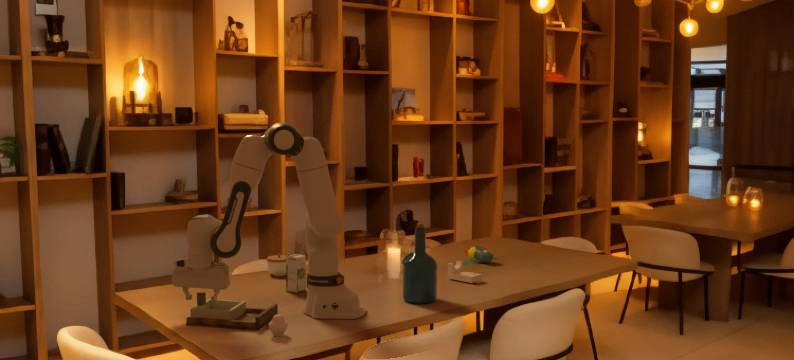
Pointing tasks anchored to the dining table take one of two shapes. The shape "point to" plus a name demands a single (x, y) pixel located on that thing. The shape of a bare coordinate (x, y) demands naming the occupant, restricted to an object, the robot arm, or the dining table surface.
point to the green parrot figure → (478, 255)
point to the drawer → (217, 308)
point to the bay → (239, 319)
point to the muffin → (278, 325)
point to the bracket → (462, 274)
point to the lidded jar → (277, 265)
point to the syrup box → (295, 273)
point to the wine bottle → (419, 272)
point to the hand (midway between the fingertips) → (201, 300)
